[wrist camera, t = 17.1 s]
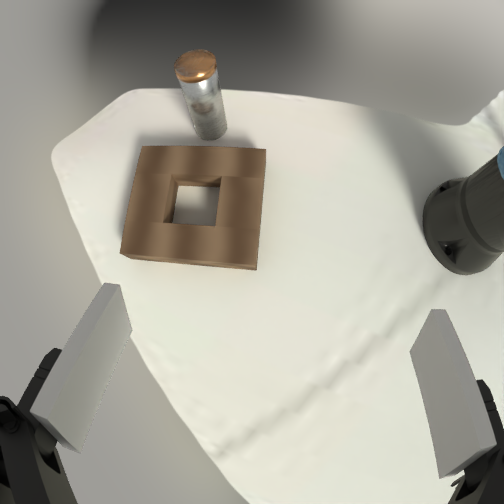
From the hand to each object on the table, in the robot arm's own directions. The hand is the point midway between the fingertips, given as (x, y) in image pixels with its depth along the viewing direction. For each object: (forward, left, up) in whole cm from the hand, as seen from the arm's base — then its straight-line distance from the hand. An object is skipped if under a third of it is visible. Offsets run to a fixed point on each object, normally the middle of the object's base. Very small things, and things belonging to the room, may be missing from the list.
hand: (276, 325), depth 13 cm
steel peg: (+11, -29, -30) cm, 43 cm away
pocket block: (+11, -15, -30) cm, 35 cm away
